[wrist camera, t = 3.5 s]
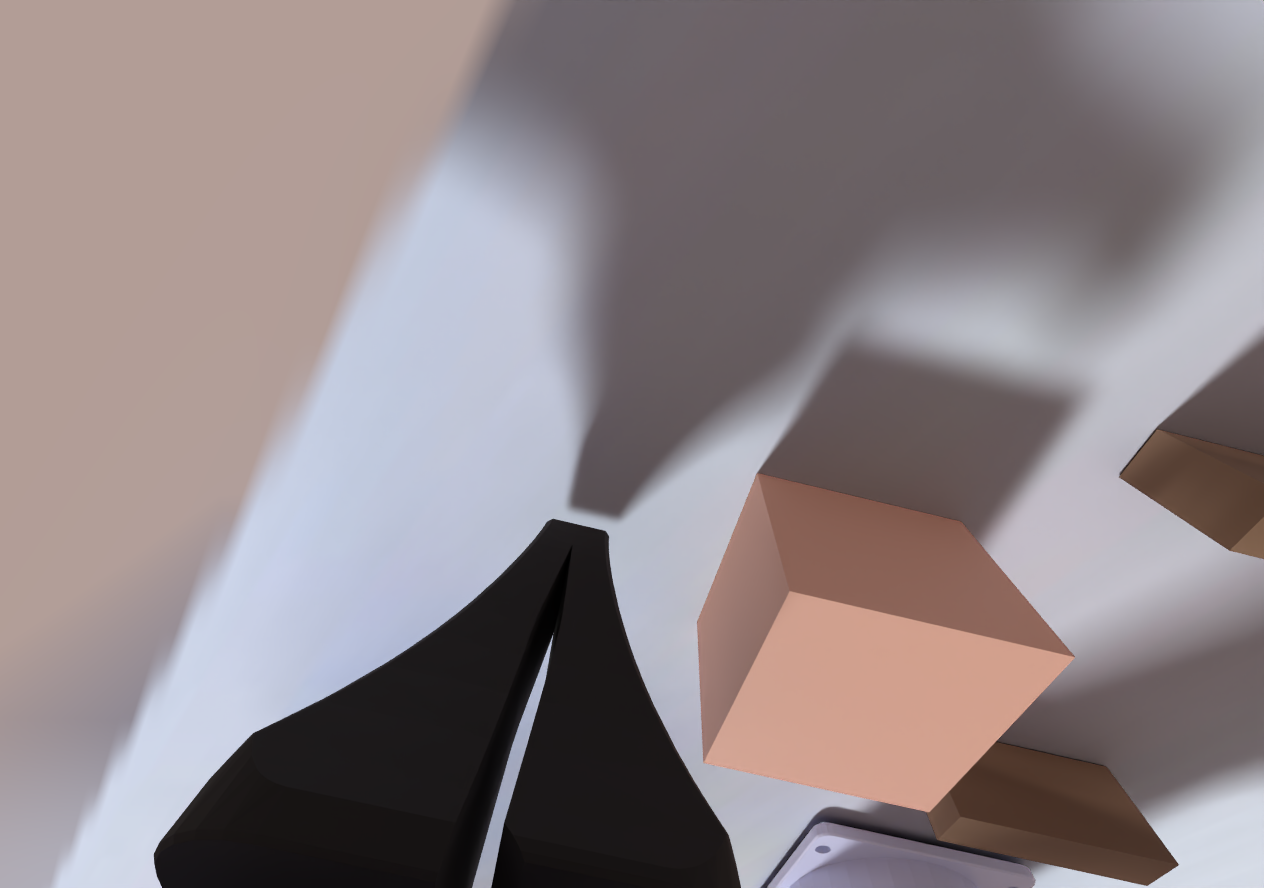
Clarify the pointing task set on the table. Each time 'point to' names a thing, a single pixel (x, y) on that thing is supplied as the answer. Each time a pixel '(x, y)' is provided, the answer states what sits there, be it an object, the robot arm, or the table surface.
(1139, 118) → the table surface
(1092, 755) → the table surface
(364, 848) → the robot arm
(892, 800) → the terracotta block
